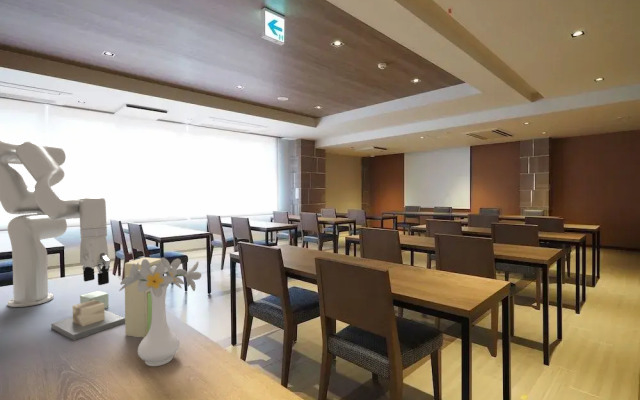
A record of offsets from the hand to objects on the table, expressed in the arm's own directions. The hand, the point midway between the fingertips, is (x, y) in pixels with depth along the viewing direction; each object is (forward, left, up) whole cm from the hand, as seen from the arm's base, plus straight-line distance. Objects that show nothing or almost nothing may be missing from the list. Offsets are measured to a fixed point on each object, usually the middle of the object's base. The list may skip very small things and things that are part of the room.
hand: (96, 282), depth 115 cm
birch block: (+13, -8, -8) cm, 17 cm away
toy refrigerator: (+31, -1, -9) cm, 33 cm away
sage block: (-1, 0, -9) cm, 9 cm away
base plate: (+13, -8, -9) cm, 18 cm away
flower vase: (+49, -8, -9) cm, 51 cm away
